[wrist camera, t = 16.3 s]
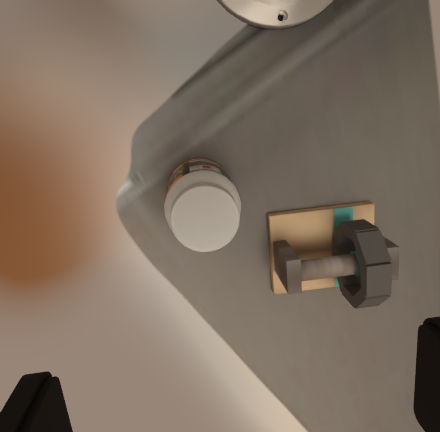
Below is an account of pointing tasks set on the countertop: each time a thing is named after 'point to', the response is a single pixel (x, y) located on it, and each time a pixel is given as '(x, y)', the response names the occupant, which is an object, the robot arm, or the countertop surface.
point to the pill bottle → (202, 205)
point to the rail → (315, 247)
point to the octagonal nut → (364, 263)
